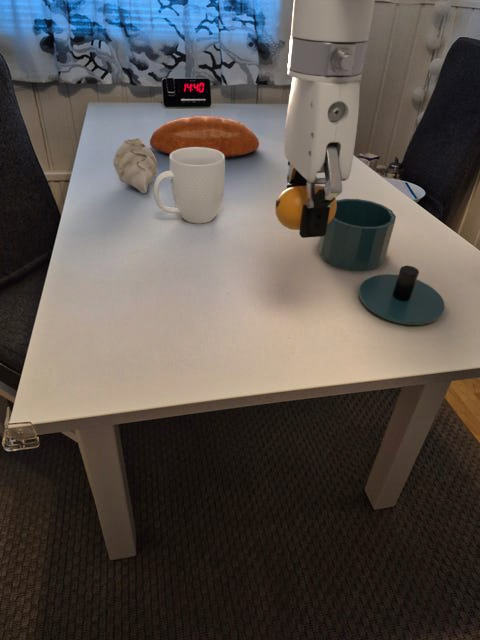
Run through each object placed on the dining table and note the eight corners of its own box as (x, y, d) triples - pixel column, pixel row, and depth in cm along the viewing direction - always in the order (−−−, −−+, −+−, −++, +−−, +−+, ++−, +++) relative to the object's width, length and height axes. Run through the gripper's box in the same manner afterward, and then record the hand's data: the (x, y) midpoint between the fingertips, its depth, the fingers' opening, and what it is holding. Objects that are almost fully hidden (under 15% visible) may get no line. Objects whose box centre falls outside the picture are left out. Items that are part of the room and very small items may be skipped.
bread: (264, 162, 124) (266, 129, 119) (148, 162, 121) (145, 128, 115) (253, 138, 142) (255, 108, 136) (152, 137, 138) (149, 106, 133)
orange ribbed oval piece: (323, 216, 59) (330, 177, 56) (339, 234, 55) (347, 193, 52) (268, 220, 57) (271, 180, 54) (279, 239, 53) (284, 197, 50)
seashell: (164, 174, 114) (161, 134, 108) (152, 198, 102) (148, 154, 96) (124, 172, 114) (119, 132, 108) (108, 195, 103) (101, 151, 96)
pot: (387, 245, 88) (398, 205, 83) (380, 277, 79) (392, 234, 74) (325, 234, 92) (332, 194, 86) (312, 262, 82) (319, 220, 77)
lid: (442, 290, 77) (454, 258, 73) (442, 336, 67) (456, 303, 63) (364, 273, 80) (371, 242, 76) (352, 315, 70) (360, 282, 66)
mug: (165, 236, 88) (160, 170, 80) (148, 213, 96) (142, 152, 88) (232, 223, 94) (234, 161, 86) (212, 203, 101) (211, 144, 93)
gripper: (402, 75, 39) (360, 256, 50) (328, 48, 52) (308, 196, 63) (322, 76, 38) (297, 262, 49) (267, 47, 51) (257, 199, 62)
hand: (304, 223), depth 56 cm, fingers closed on orange ribbed oval piece, 5 cm apart
